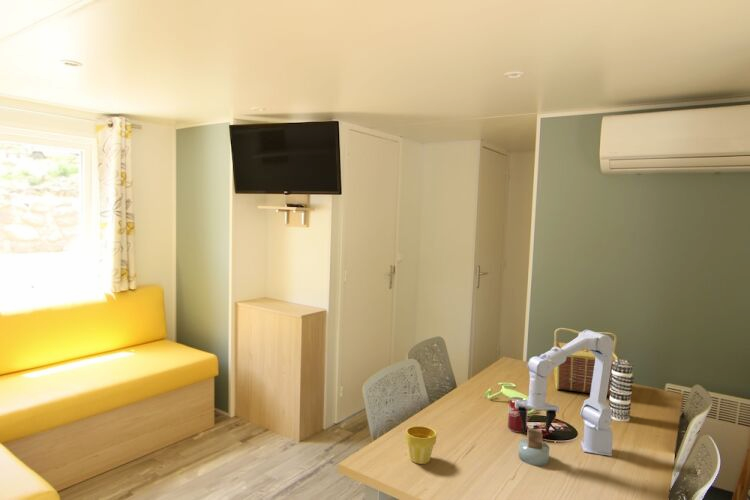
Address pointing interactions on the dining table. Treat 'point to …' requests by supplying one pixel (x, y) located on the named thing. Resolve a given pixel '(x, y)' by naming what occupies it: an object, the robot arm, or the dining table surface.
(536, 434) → the walnut block
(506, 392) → the figurine
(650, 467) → the dining table surface
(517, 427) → the soda can
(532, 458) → the grey rounded dome
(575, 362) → the picnic basket
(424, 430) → the plant pot
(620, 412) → the decorative candle
